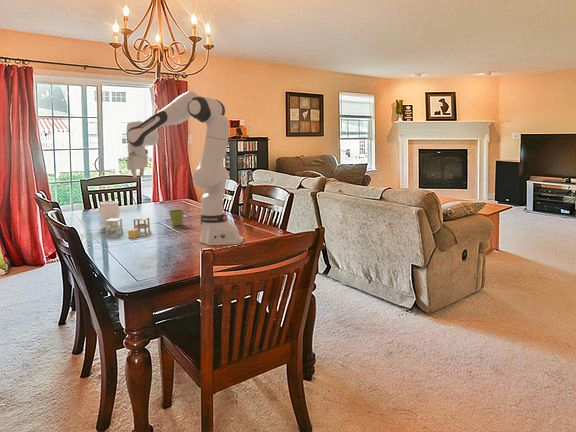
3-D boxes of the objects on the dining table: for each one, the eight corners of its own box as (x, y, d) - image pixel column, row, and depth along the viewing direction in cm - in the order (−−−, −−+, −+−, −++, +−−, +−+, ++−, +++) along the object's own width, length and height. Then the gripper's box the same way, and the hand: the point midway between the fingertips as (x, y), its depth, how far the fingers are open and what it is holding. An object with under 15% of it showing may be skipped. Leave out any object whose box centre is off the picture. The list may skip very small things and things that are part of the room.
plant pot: (166, 226, 255) (165, 212, 254) (173, 223, 264) (172, 209, 263) (181, 226, 254) (180, 212, 252) (187, 223, 263) (187, 209, 261)
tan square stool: (150, 231, 243) (149, 217, 241) (145, 233, 237) (144, 219, 235) (138, 231, 243) (137, 217, 242) (134, 233, 237) (133, 219, 235)
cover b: (122, 232, 240) (121, 218, 238) (117, 235, 233) (116, 220, 232) (111, 232, 240) (110, 218, 238) (106, 235, 233) (105, 220, 232)
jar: (124, 226, 256) (122, 201, 253) (109, 229, 247) (106, 203, 245) (113, 224, 262) (111, 200, 259) (98, 227, 253) (95, 202, 250)
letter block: (138, 236, 232) (138, 228, 231) (135, 237, 228) (135, 230, 227) (131, 235, 232) (130, 228, 231) (128, 237, 228) (127, 230, 228)
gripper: (134, 152, 221) (136, 179, 224) (148, 150, 241) (150, 175, 244) (122, 152, 221) (124, 179, 224) (137, 150, 241) (139, 175, 244)
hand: (138, 177), depth 234 cm, fingers open, 8 cm apart
